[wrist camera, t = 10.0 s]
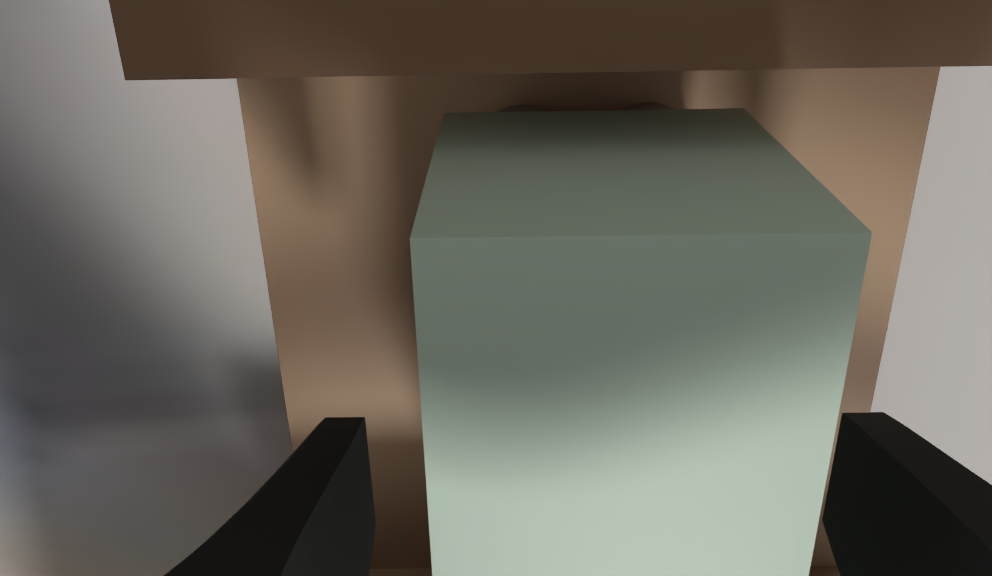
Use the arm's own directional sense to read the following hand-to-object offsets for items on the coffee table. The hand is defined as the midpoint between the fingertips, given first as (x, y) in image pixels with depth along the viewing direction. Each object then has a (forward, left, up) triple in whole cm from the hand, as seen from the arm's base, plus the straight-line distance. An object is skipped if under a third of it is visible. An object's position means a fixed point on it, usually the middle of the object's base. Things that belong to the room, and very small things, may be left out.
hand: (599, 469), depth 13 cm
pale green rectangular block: (0, 0, -2) cm, 2 cm away
